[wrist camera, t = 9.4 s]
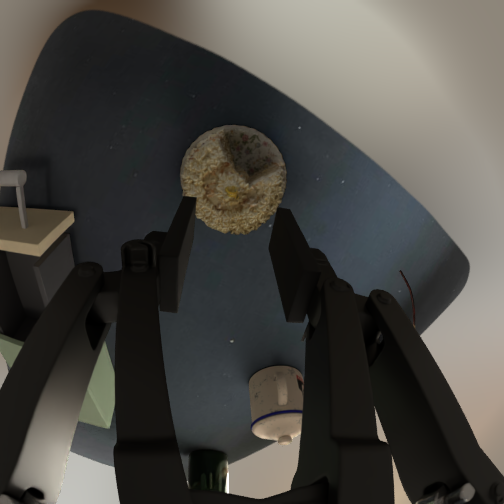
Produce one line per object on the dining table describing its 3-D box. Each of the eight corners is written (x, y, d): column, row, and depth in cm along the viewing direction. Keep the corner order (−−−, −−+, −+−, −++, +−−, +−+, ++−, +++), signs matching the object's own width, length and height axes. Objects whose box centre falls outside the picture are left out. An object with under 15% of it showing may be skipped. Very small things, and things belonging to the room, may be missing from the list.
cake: (262, 234, 29) (265, 266, 25) (169, 205, 27) (155, 232, 23) (303, 148, 24) (317, 164, 20) (199, 109, 22) (188, 116, 18)
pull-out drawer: (-11, 161, 20) (-51, 182, 14) (71, 157, 22) (28, 179, 16) (24, 313, 31) (4, 346, 25) (95, 330, 33) (79, 371, 27)
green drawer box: (19, 293, 31) (-10, 334, 23) (97, 311, 33) (74, 363, 25) (52, 369, 39) (37, 406, 32) (119, 386, 42) (109, 429, 34)
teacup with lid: (300, 390, 44) (313, 448, 34) (248, 396, 44) (253, 455, 34) (307, 348, 38) (326, 417, 28) (244, 354, 38) (250, 427, 28)
